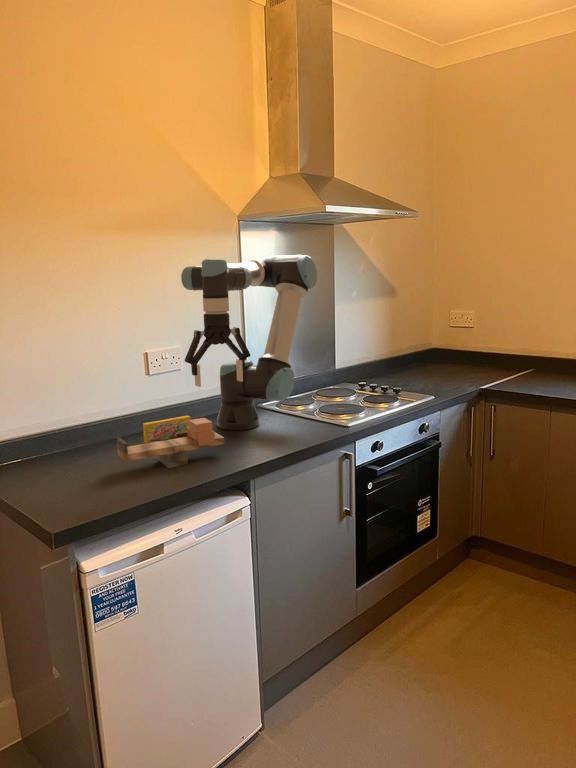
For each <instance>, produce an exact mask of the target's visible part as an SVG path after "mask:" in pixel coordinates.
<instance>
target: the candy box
mask: <svg viewBox="0 0 576 768" xmlns="http://www.w3.org/2000/svg"><path fill="white" fill-rule="evenodd" d="M189 420H192V418H191V416H190V415H187V414H186V415H183V416H178V417H172V418H166V419H160V420H154V421H149V422H144V423H142V429H143V444H147V443H153V442H159V441H165V440H171V439H177V438H183V437H188V430H187V427H189Z"/></svg>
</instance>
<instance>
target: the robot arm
mask: <svg viewBox="0 0 576 768" xmlns="http://www.w3.org/2000/svg"><path fill="white" fill-rule="evenodd" d="M316 267H317V266H316V264H315V260H313V258H312V257H311V256H310V255H306V254H295V255H293V254H292V255H291V254H290V255H289V254H288V255H286V254H285V255H270V256H264V257H260V258H253V259H249V260H247V261H245V262H239V263H238V262H237V263H228V261H227V260H226V259H225V258H210V259H208V258H207V259H203V260H202V261H201V265H197V266H196V265H192V266H186V267H184V268H183V270H182V272H181V275H180V278H181V284H182V286H183V288H185V289H186V290H188V291H193V292H195V291H202V307H203V309H202V310H203V312H204V314H203V327H204V329H203V330H197V329H196V330H193V338H192V341H191V344H190V346H189V348H188V351H187V354H186V355H185V358H184V362H185V363H187V364H190V365H191V375H192V376H194V382H195V383H194V385H195V387H198V388H201V387H202V380H201V379H202V378H201V376H202V375H201V365H200V364H198V363H199V362H200V360H201V359H202V358H203V357H204V355H205V353H206V352H207V351H208V349H209V348H210V347H211V346H212V345H224V344H225V345H227V347H228V348H229V349H230V350H231V351H232V352H233V353H234V355H235V356H236V357H237V358H238V359H236V361H230V362H225V363H223V364H222V365H221V366H220V367H219V384H220V385H219V386H220V403H221V404H220V408H219V412H218V415H217V419H216V424H217V425H216V426H217V428H219V429H222V430H224V431H225V430H227V431H243V430H250V429H254V428H256V427H258V426H259V425H260V418H259V415H258V412H257V409H256V405H255V402H254V399H255V400H262V401H268V402H282V401H285V400H287V399H288V398H289V396H290V395H291V394H292V391H293V389H294V386H295V371H294V370H293V369H292V365H291V363H290V361H289V357H290V352H291V349H292V344H293V339H294V335H295V331H296V326H297V321H298V317H299V313H300V309H301V304H302V299H303V298H305V297H307V296H308V292H309V289H313V288H314V287H315V286H316V285H317V280H318V273H317V268H316ZM249 287H265V288H275V290H276V292H277V297H276V300H275V301H276V302H275V306H274V310H273V316H272V319H271V324H270V327H269V332H268V337H267V340H266V341H267V342H266V345H265V348H264V354H263V355H262V356H260V357H258V359H257V364H256V365H254V362H253V361H252V360H251V359H250V360H248V359H247V358H250V357H251V353H250V351H249V348H248V347H247V345H246V343H245V340H244V338H243V336H242V335H241V330H240V327H236V326H235V327H233V328H230V323H231V322H230V313H229V311H230V303H229V302H230V301H229V298H230V297H229V291H231V292H232V291H233V292H234V291H239V292H241V291H243V290H246V289H248V288H249ZM231 335H233V336H234V339H235V341H236V343H237V345H238V346H236V344H234V342H233V340H232V339H231V338H230V336H231ZM203 336H204V338H205V339H204V341H203V342H202V344H201V346H199V344H200V342H201V339H202V338H203ZM198 347H199V349H198ZM238 347H239V348H238ZM197 349H198V350H197Z"/></svg>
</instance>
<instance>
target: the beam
mask: <svg viewBox="0 0 576 768" xmlns="http://www.w3.org/2000/svg"><path fill="white" fill-rule="evenodd" d="M214 433H215V444H209V445H203V446H198V441H196V440H195V439H193V438H192V437H190V436H189V437H183V438H177V439H171V440H165V441H159V442H153V443H147V444H144V443H142V444H135V445H129V446H128V443H127V442H126V441H125V440H124V439H122V438H121V437H117V438H116V444H117V455H118V457H120V458H121V460H122V461H123V462H124V463H125V462H130V461H136V460H142V459H147V458H153V457H158V459H159V462H160V463H162V464H163V465H164V466H165V467H166V468H168V469H170V468H175V467H182V466H186V465H189V461H188V460H189V459H188V451H194V450H197V449H203V448H204V449H205V448H209V447H216V446H221V445H224V444H225V443H226V442H225V437H224V436H223V435H221V434H219V433H217V432H215V431H214Z"/></svg>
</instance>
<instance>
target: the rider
mask: <svg viewBox="0 0 576 768" xmlns="http://www.w3.org/2000/svg"><path fill="white" fill-rule="evenodd" d="M187 430H188V437H189V436H190V437H192V438H193V439H195V440H196V441H198V446H203V445H209V444H215V433H214V432H215V431H214V430H213V422H212V420H209V419H207V418H205V417H200V418H195V419H191V420H189V427H187Z"/></svg>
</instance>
